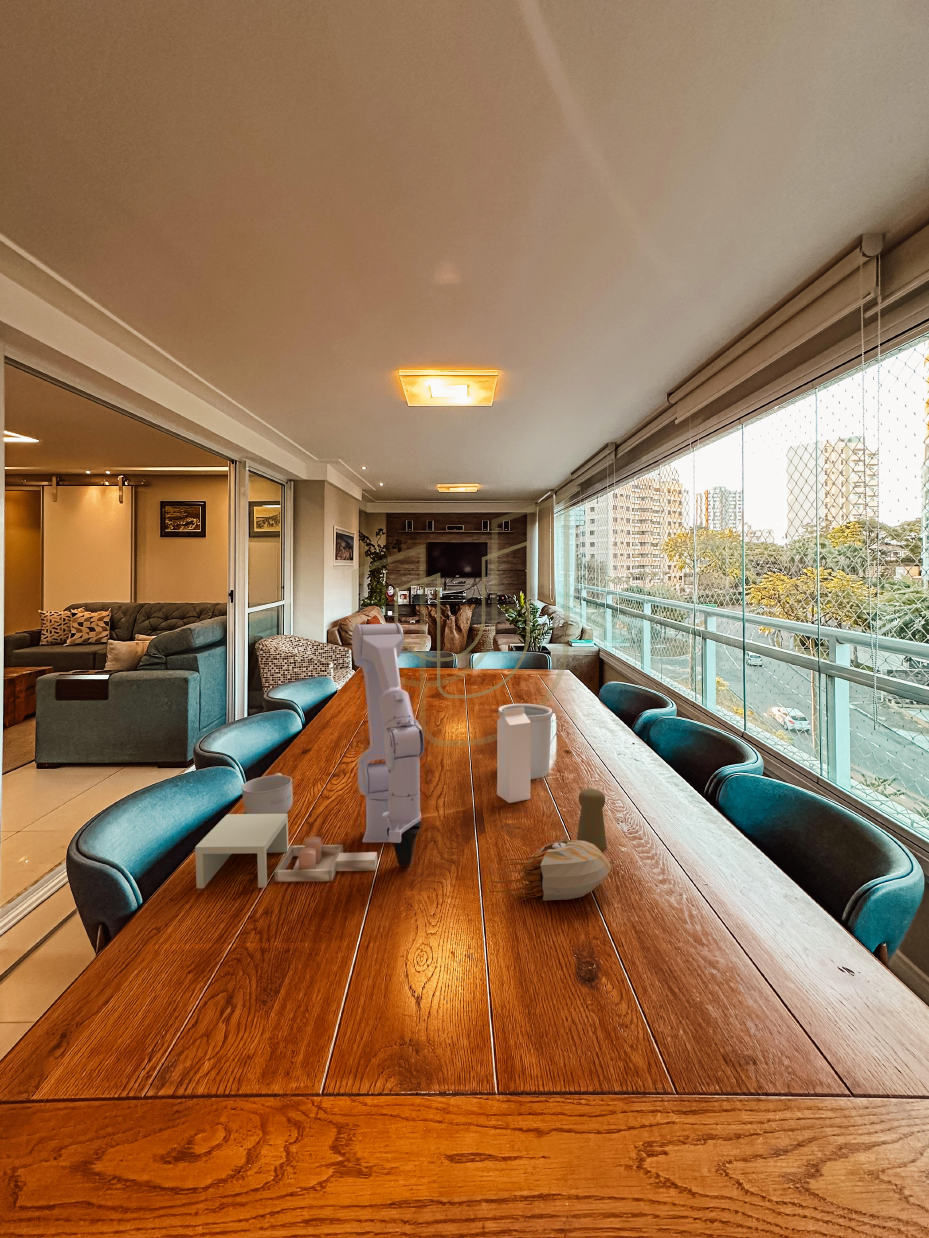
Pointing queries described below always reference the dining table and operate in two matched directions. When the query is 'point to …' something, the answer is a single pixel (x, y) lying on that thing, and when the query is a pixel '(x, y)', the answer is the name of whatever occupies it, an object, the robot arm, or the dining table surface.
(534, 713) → the utensil holder
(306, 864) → the tan rounded block
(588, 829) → the pepper mill
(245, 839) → the grey bridge stand
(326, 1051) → the dining table surface
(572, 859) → the nautilus
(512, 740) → the milk
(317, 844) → the tan rounded capsule
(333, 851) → the drawer with block handle
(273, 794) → the teacup
